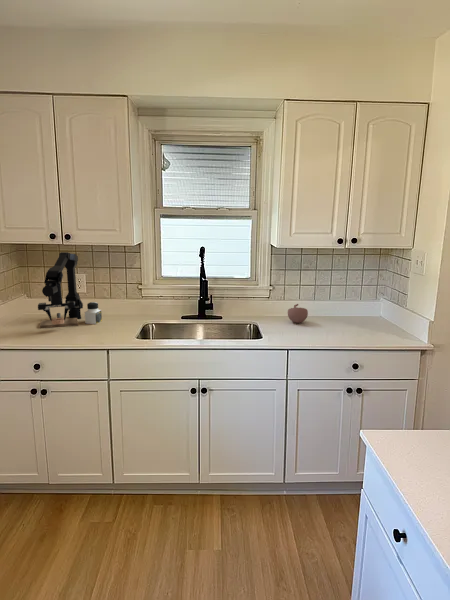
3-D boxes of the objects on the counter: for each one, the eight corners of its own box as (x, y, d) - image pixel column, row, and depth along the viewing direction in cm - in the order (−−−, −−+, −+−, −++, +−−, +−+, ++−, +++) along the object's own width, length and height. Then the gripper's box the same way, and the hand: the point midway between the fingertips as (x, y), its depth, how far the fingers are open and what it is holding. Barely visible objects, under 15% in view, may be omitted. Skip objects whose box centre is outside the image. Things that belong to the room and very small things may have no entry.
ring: (64, 320, 230) (64, 317, 229) (64, 323, 224) (64, 320, 223) (52, 321, 227) (51, 318, 227) (51, 324, 222) (51, 321, 221)
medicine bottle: (96, 324, 239) (95, 304, 237) (85, 323, 240) (83, 303, 238) (102, 321, 246) (101, 301, 244) (91, 320, 247) (89, 301, 245)
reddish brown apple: (305, 320, 254) (306, 302, 252) (308, 325, 243) (309, 306, 240) (286, 319, 254) (286, 302, 252) (288, 325, 243) (289, 306, 240)
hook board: (77, 320, 247) (76, 309, 246) (77, 325, 237) (77, 314, 235) (41, 322, 241) (40, 312, 239) (39, 328, 230) (39, 317, 228)
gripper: (74, 289, 233) (75, 315, 236) (38, 291, 226) (40, 318, 230) (74, 292, 222) (76, 320, 226) (36, 294, 216) (39, 323, 219)
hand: (58, 320), depth 225 cm, fingers closed on ring, 6 cm apart
